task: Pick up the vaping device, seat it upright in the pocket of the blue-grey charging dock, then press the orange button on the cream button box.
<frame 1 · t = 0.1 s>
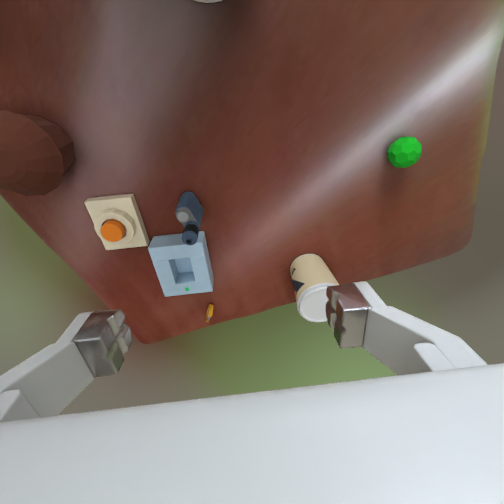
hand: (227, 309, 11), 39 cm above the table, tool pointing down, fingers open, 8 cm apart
button box: (120, 220, 50), on the table
charging dock: (185, 258, 55), on the table
muffin: (46, 146, 42), on the table
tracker: (209, 306, 64), on the table
orange button: (113, 230, 46), point 4 cm above the table, slide at 0.1 cm
vaping device: (192, 202, 49), on the table
polyhedron: (395, 149, 46), on the table
coffee cup: (306, 267, 59), on the table
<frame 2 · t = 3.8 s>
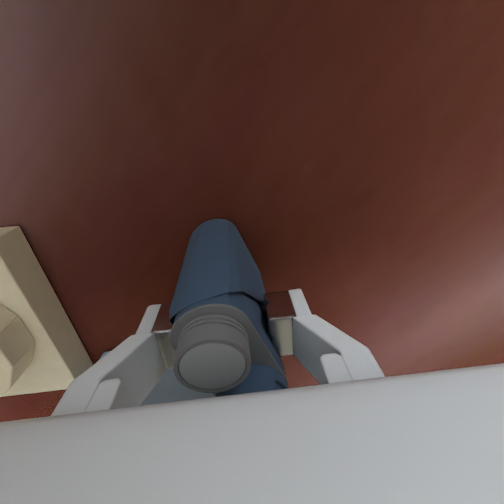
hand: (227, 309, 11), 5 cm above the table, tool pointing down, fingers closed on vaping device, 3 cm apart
charging dock: (196, 399, 20), on the table
vaping device: (228, 255, 15), on the table, touching gripper
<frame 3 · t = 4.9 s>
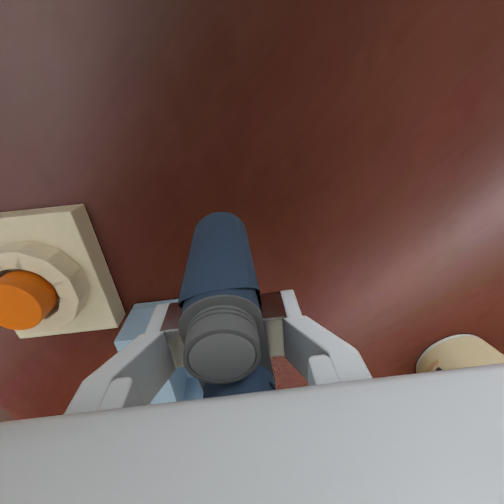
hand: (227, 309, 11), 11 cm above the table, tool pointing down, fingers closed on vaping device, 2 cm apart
button box: (56, 269, 21), on the table
charging dock: (203, 347, 26), on the table
orange button: (20, 300, 17), point 4 cm above the table, slide at 0.1 cm
vaping device: (226, 250, 15), point 6 cm above the table, touching gripper
coffee cup: (448, 358, 29), on the table
when the fingers open (5 cm above the table, at t = 10.0 s): vaping device stays where it is, resting on charging dock.
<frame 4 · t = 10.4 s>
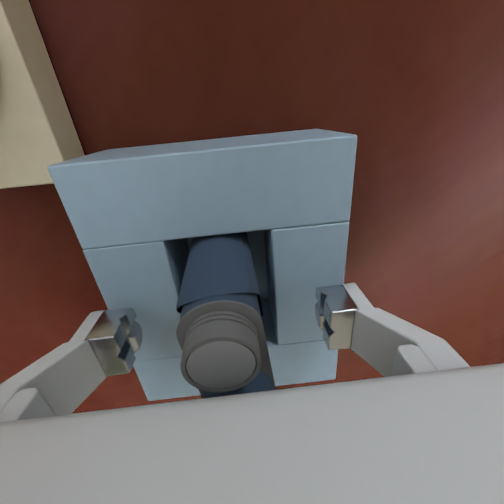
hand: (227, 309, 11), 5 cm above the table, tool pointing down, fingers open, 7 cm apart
charging dock: (229, 251, 15), on the table
vaping device: (226, 253, 14), point 1 cm above the table, touching charging dock
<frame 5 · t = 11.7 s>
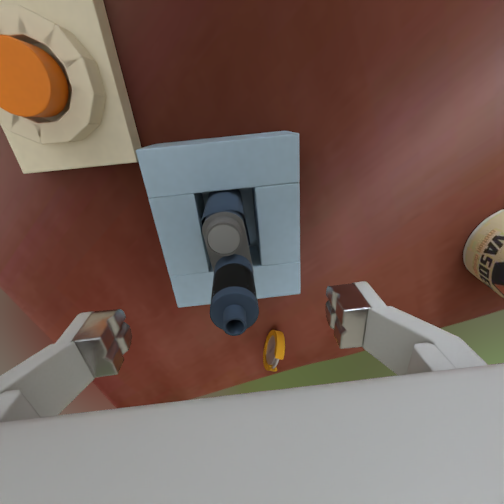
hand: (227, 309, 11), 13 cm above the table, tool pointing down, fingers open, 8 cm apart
button box: (65, 88, 18), on the table
charging dock: (230, 212, 23), on the table
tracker: (270, 334, 29), on the table
orange button: (24, 80, 14), point 4 cm above the table, slide at 0.1 cm
vaping device: (229, 212, 22), point 1 cm above the table, touching charging dock
coffee cup: (500, 242, 26), on the table
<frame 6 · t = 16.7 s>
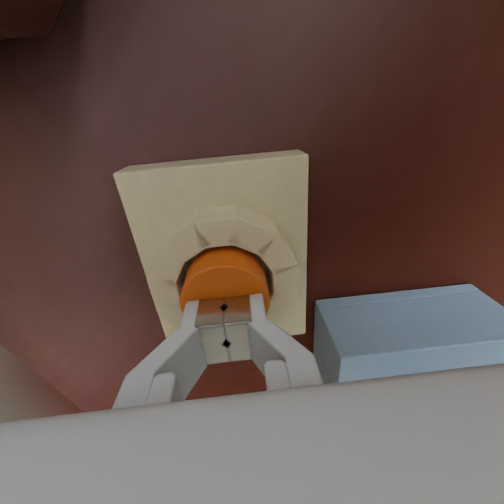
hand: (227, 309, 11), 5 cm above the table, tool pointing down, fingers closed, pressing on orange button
button box: (227, 251, 15), on the table
charging dock: (379, 356, 19), on the table
orange button: (226, 291, 11), point 4 cm above the table, slide at -0.2 cm, touching gripper
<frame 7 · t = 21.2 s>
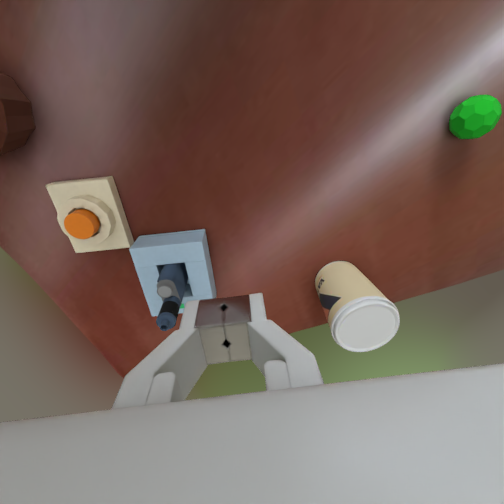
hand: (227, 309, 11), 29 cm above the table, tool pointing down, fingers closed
button box: (96, 214, 38), on the table
charging dock: (180, 266, 43), on the table
orange button: (82, 224, 34), point 4 cm above the table, slide at 0.1 cm
vaping device: (179, 266, 42), point 1 cm above the table, touching charging dock
polyhedron: (458, 117, 35), on the table
coffee cup: (336, 279, 46), on the table
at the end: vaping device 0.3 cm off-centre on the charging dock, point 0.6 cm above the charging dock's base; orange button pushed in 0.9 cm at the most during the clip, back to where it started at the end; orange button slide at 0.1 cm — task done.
